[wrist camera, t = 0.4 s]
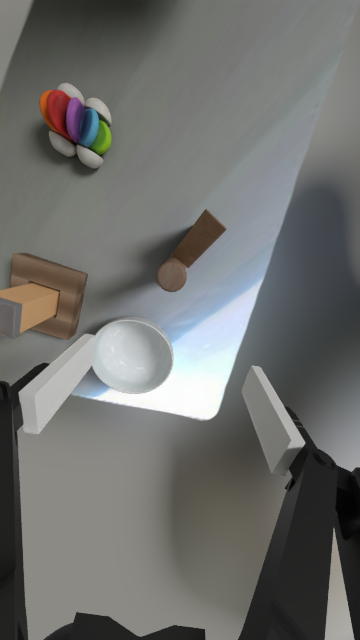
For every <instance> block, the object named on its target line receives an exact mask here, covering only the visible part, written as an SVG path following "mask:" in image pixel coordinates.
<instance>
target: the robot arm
mask: <svg viewBox="0 0 360 640" xmlns="http://www.w3.org/2000/svg"><path fill="white" fill-rule="evenodd" d="M94 336H95V335H90V334H84V335H83V336H82V337H80V338H79V339H78V340H77V341H76V342H75V343H74V344H73V345H71V346H70V347H69V348H68V349H67V350H66V351H65V352H64V353H62V354H61V355H60V356H59V357H58V358H57V359H56V360H54V361H53V362H52V363H51V364H48V363H42V364H40V365H38V366H36V367H34V368H33V369H32V370H31V371H29V372H28V373H27V374H26V375H24V376H23V378H21V379H19V380H18V381H17V382H16V383H15V384H13V385H12V386H11V387H10V386H9V384H8V383H7V382H5V381H0V640H28V630H27V617H26V608H25V592H24V571H23V548H22V526H21V503H20V481H19V460H18V438H17V430H18V429H19V428H20V427H21V426H22V425H23V428H24V432H28V433H34V434H39V433H40V432H41V430H42V429H43V428H44V426H45V425H46V424H47V422H48V421H49V420H50V419H51V417H52V416H53V415H54V413H55V412H56V411H57V410H58V408H59V407H60V406H61V405H62V403H63V402H64V401H65V399H66V398H67V397H68V395H69V394H70V393H71V392H72V390H73V389H74V388H75V387H76V385H77V384H78V383H79V381H80V380H81V379H82V378H83V376H84V375H85V374H86V372H87V371H88V370H89V369H90V367H91V366H92V365H93V361H94ZM241 392H242V394H243V397H244V400H245V402H246V405H247V408H248V410H249V413H250V416H251V419H252V421H253V424H254V427H255V429H256V432H257V435H258V437H259V440H260V443H261V446H262V449H263V451H264V454H265V457H266V459H267V462H268V465H269V468H270V470H271V473H272V474H277V475H283V476H285V474H286V473H287V471H288V470H290V472H291V474H292V478H291V479H290V481H289V482H288V484H287V485H286V487H285V489H286V490H287V491H286V494H285V497H284V501H283V504H282V507H281V510H280V513H279V516H278V519H277V522H276V526H275V529H274V532H273V535H272V539H271V542H270V545H269V548H268V551H267V554H266V557H265V560H264V563H263V567H262V570H261V573H260V576H259V580H258V582H257V585H256V589H255V592H254V595H253V598H252V601H251V604H250V607H249V611H248V614H247V617H246V620H245V623H244V626H243V629H242V632H241V634H240V636H239V639H238V640H324V638H325V627H326V615H327V601H328V590H329V578H330V565H331V553H332V540H333V528H335V533H336V539H337V545H338V551H339V556H340V562H341V567H342V573H343V578H344V584H345V589H346V595H347V601H348V606H349V611H350V617H351V623H352V628H353V633H354V639H355V640H360V468H355V470H353V472H350V471H348V470H346V469H344V468H341V467H339V466H337V465H336V463H335V462H334V460H333V459H332V458H331V457H330V456H329V455H328V454H326V453H325V452H323V451H322V450H320V449H317V447H316V446H315V444H314V443H313V441H312V439H311V438H310V436H309V435H308V433H307V431H306V430H305V428H303V425H302V424H301V422H300V421H299V419H298V417H297V416H296V414H295V413H294V412H293V411H292V410H291V409H290V408H289V407H284V406H283V404H282V403H281V401H280V399H279V397H278V396H277V394H276V393H275V391H274V389H273V387H272V386H271V384H270V382H269V381H268V379H267V377H266V376H265V374H264V372H263V371H262V369H261V367H257V366H251V368H250V371H249V373H248V376H247V378H246V381H245V383H244V386H243V388H242V391H241ZM44 640H205V629H199V628H192V627H183V626H177V625H173V626H170V627H168V628H165V629H162V630H160V631H157V632H154V633H151V634H149V635H146V636H143V637H139V636H136V635H135V634H133V633H132V632H130V631H129V630H128V629H126V628H125V627H123V626H122V625H120V624H119V623H117V622H116V621H114V620H113V619H111V618H110V617H108V616H100V615H93V614H85V613H78V612H77V613H76V616H75V619H74V622H73V623H71V624H68V625H66V626H63V627H61V628H60V629H58V630H56V631H55V632H53V633H52V634H50V635H49V636H47V637H46V638H45V639H44Z"/></svg>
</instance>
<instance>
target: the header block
mask: <svg viewBox="0 0 360 640" xmlns="http://www.w3.org/2000/svg"><path fill="white" fill-rule="evenodd" d="M87 276H88V274H86V273H83V272H80V271H77V270H74V269H72V268H69V267H66V266H63V265H60V264H57V263H54V262H51V261H48V260H45V259H42V258H40V257H37V256H34V255H31V254H28V253H13V257H12V271H11V285H10V288H13V287H17V286H22V285H26V284H31V283H38V284H41V285H44V286H47V287H50V288H53V289H57V290H60V297H59V303H58V309H57V314H56V315H54V316H52V317H50V318H48V319H46V320H44V321H43V322H41V323H39V324H37V325H35V326H33V327H31V328H29V329H33V330H36V331H39V332H43V333H46V334H49V335H53V336H56V337H60V338H63V339H66V340H69V339H70V338H71V337H72V336H73V335H75V334H76V331H77V326H78V321H79V316H80V311H81V306H82V301H83V296H84V291H85V286H86V281H87Z"/></svg>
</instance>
